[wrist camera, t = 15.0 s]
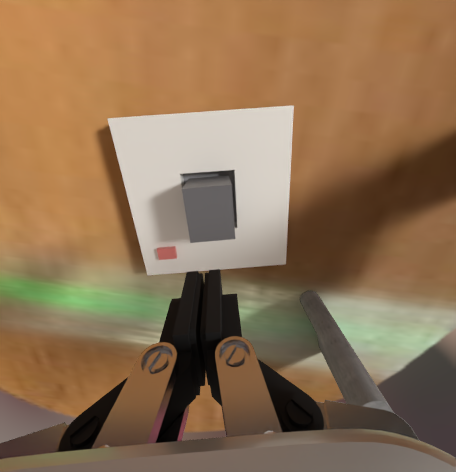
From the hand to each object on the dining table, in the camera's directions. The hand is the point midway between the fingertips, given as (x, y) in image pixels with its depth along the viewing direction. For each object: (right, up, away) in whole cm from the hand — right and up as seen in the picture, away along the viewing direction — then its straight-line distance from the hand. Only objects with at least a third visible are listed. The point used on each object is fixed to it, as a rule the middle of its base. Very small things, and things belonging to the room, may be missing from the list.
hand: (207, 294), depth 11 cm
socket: (-1, +8, +19) cm, 21 cm away
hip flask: (+18, -13, +30) cm, 37 cm away
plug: (-1, +8, +18) cm, 20 cm away
